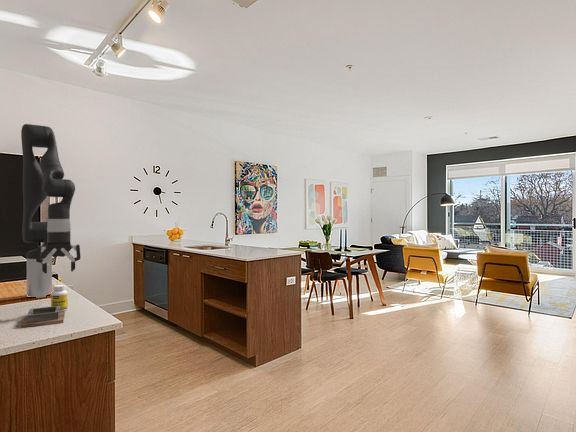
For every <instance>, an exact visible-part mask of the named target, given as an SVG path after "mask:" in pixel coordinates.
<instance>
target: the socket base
mask: <svg viewBox="0 0 576 432" xmlns="http://www.w3.org/2000/svg"><path fill="white" fill-rule="evenodd" d="M65 315H66V311H60V306H52V307H51V306H44V307H35V308H34V307H33V308H30V309H29V310H28V312H27V314H25V315H24V317H23V320H22V321H21V323H20V325H19V326H20V327H19V329H26V328H33V327H34V328H35V327H40V326H41V327H42V326H49V325H55V324H57V325H58V324H63V323H64V321H65V320H64V319H65Z"/></svg>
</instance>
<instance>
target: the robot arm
mask: <svg viewBox="0 0 576 432" xmlns="http://www.w3.org/2000/svg"><path fill="white" fill-rule="evenodd" d="M20 134H21V136H20V138H21V148H22V149H21V150H22V166H23V167H22V196H23V197H22V199H23V200H22V201H23V204H22V205H23V209H22V210H23V212H22V213H23V214H22V229H21V231H22V233H21V236H22V237H21V238H22V240H23V242H24V243H27V244H30V243H31V244H32V243H33V244H34V243H36V244H37V243H43V244H42V245H38V246H37V247H36V248H35V249H31V250H29V251H27V252H26V296H27V295H28V296H34V297H36V298H35V299H40V298H46V295H47V294H49V293H51V292H53V258H59V257H61V258H62V257H63V258H64V257H67V258H68V259H69V260H70V272H74V271H75V270H76V262H77V261H79V260H81V247H80V244H76V245H75V244H73V245H72V244H71V239H72V238H71V234H72V233H71V229H72V228H71V227H72V226H71V219H70V217H71V216H70V213H71V212H70V211H71V204H72V201H73V198H74V195H75V192H76V186H75V183H74V182H73V181H72V180H71V179H64V177H65V172H64V169H63V166H62V164H61V162H60V161H61V160H60V158H59V152H58V146H57V141H56V136H55V132H54V130H53V129H52V128H51V127H50V126H46V125H38V124H30V123H25V124H23V125H22V126H21V131H20ZM33 148H44V149H45V148H46V149H47V150H46V151H45V153H44V154H43V155H42V156H41V157H40V160H39V162H38V160H37V158H36V157H35V154H34V150H33ZM47 197H49V198H62V199H61V201H59V202H55V203H54V202H53V203H50V204H49V205H48V207H47V221H33V220H32V219H33V217H34V215H35V213H36V212H37V210H38V209H39V207H40V206H41V204H43V203H44V201H45V200H46V199H47ZM72 249H73V251H75V253H76V257H74V256H73V255H72V254H71V250H72Z"/></svg>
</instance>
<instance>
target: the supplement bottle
mask: <svg viewBox="0 0 576 432" xmlns="http://www.w3.org/2000/svg"><path fill="white" fill-rule="evenodd" d="M66 288H67V287H66V284H56V285H52V293H51V295H50V307H52V306H60V311H65V312H66V311H67V310H68V306H69V305H68V304H69V303H68V298H69V297H68V295H69V294H68V293H69V292H68V290H66Z"/></svg>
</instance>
